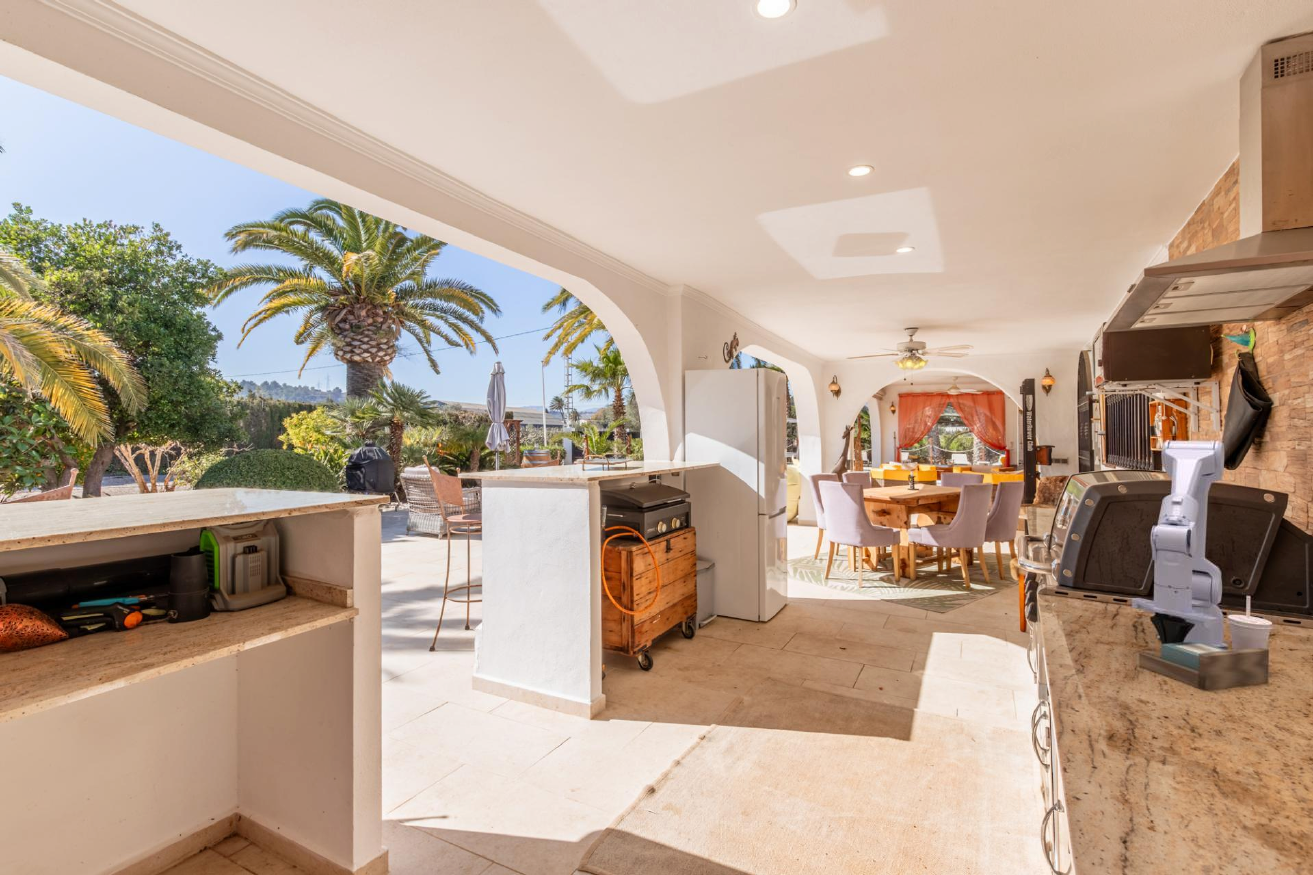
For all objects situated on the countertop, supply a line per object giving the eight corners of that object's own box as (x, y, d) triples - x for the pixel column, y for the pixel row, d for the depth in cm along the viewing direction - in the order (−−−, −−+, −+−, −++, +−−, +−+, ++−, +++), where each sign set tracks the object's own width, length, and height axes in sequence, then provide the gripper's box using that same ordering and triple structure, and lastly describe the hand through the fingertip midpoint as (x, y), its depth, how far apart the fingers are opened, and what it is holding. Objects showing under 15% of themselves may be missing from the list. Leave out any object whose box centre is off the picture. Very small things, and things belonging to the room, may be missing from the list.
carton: (1195, 666, 121) (1196, 640, 121) (1237, 680, 114) (1237, 652, 114) (1160, 670, 119) (1161, 643, 119) (1201, 684, 112) (1201, 656, 112)
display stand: (1197, 659, 124) (1198, 630, 124) (1268, 682, 113) (1268, 650, 113) (1138, 666, 120) (1139, 635, 120) (1205, 690, 109) (1206, 656, 109)
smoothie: (1262, 666, 121) (1263, 595, 121) (1278, 678, 115) (1280, 603, 115) (1220, 661, 124) (1221, 591, 123) (1234, 672, 118) (1235, 598, 118)
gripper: (1120, 578, 128) (1119, 643, 128) (1198, 596, 114) (1196, 669, 114) (1147, 576, 129) (1145, 641, 129) (1226, 594, 115) (1225, 666, 115)
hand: (1171, 654), depth 122 cm, fingers closed
